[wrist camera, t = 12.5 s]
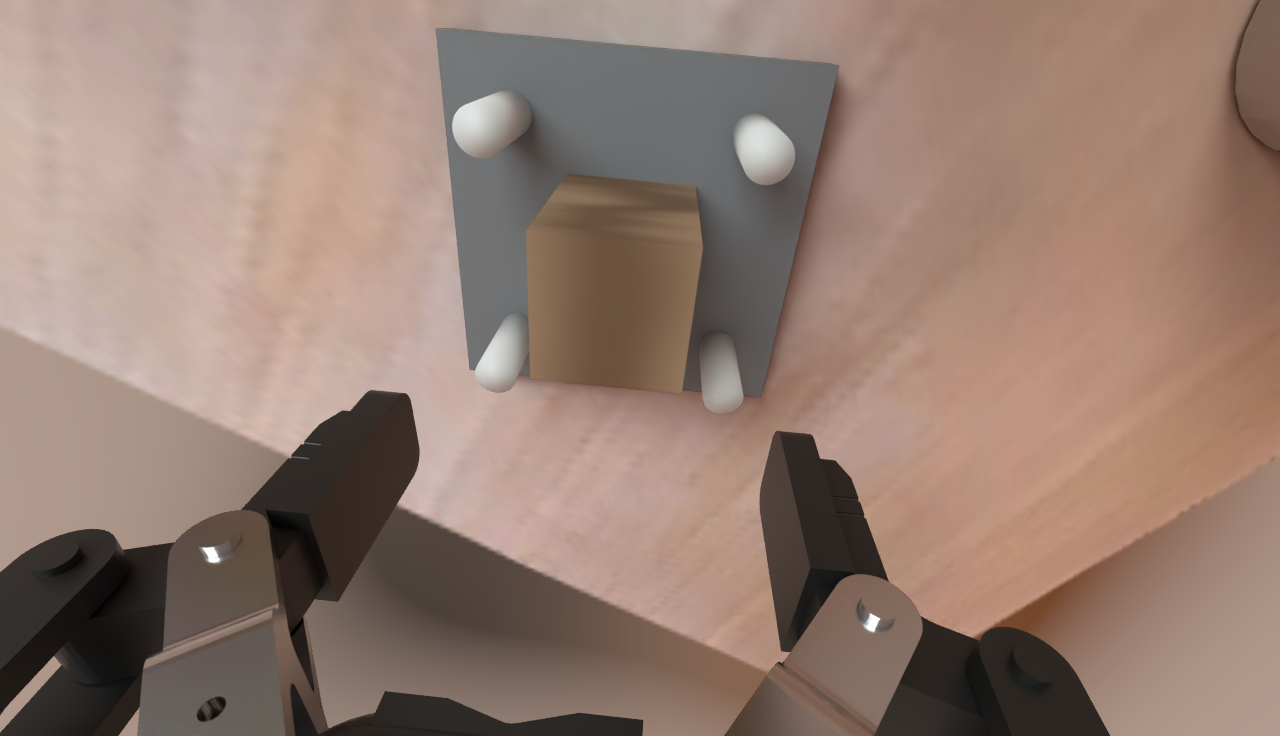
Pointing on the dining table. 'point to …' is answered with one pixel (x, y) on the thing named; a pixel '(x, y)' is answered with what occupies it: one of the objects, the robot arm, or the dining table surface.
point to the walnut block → (613, 283)
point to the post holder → (635, 150)
